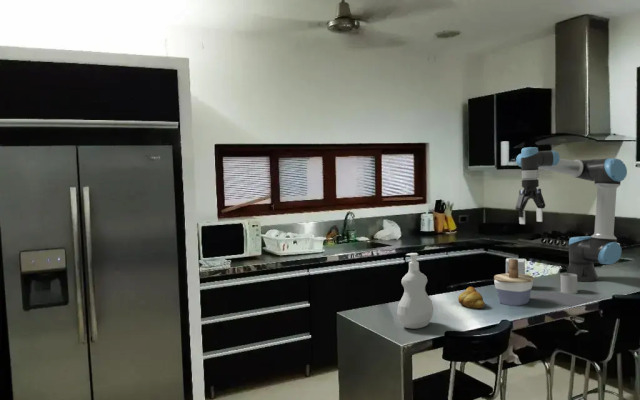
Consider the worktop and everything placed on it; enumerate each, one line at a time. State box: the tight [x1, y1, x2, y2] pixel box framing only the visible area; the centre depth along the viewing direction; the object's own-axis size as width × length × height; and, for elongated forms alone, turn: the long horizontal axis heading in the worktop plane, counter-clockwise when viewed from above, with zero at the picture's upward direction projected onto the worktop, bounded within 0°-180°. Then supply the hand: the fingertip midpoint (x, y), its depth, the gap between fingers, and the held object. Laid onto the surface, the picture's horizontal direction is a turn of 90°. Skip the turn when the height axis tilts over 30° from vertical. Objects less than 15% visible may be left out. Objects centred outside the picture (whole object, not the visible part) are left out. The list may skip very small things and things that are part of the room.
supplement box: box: [505, 258, 526, 275], centre depth 250 cm, size 9×9×15 cm
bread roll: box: [457, 286, 485, 309], centre depth 221 cm, size 13×10×8 cm
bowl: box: [493, 279, 534, 307], centre depth 225 cm, size 15×15×11 cm
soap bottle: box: [396, 252, 434, 330], centre depth 196 cm, size 17×12×29 cm
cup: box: [560, 272, 578, 295], centre depth 238 cm, size 7×10×9 cm
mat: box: [529, 290, 594, 308], centre depth 226 cm, size 18×22×1 cm
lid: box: [493, 258, 535, 283], centre depth 224 cm, size 17×17×9 cm
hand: (531, 222), depth 238 cm, fingers open, 13 cm apart
